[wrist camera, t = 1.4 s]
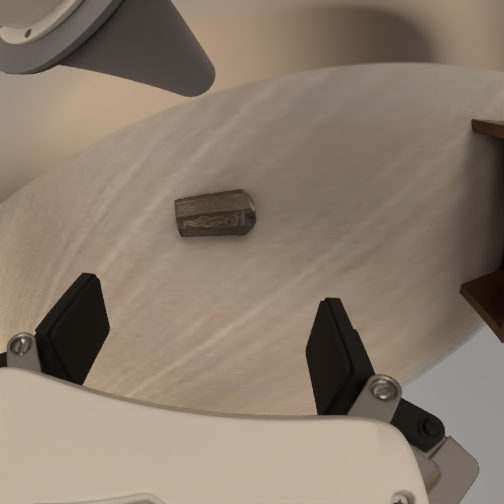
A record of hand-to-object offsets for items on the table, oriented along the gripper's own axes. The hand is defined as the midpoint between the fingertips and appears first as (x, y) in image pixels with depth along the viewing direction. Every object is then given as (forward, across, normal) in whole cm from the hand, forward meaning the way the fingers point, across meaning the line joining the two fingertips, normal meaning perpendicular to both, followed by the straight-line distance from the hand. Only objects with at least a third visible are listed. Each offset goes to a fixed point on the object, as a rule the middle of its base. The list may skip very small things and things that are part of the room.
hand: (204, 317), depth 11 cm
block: (+12, +1, 0) cm, 12 cm away
